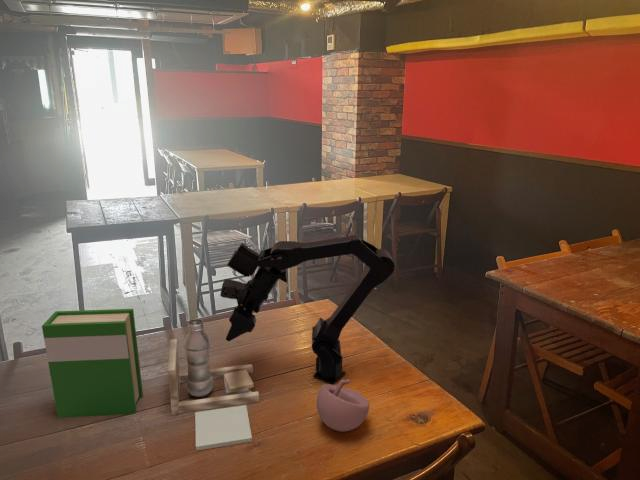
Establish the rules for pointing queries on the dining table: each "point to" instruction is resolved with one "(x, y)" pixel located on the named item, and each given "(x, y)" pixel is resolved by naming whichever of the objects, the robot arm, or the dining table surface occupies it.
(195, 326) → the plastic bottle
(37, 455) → the dining table surface
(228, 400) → the birch rack
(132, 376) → the hardback book
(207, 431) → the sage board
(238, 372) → the offcut stack
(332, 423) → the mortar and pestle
